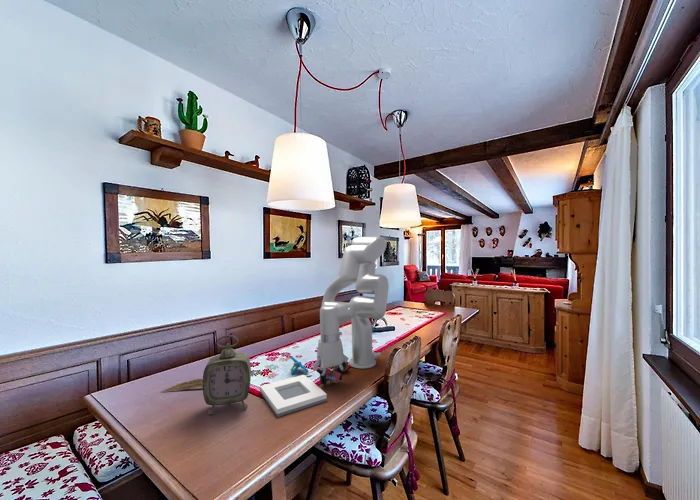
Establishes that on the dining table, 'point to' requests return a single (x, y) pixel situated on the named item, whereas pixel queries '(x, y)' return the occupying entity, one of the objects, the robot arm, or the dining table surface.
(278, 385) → the square picture frame
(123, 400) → the dining table surface
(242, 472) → the dining table surface
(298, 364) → the gear
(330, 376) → the geometric puzzle
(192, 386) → the wooden fragment
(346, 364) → the stone weight
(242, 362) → the tabletop clock
